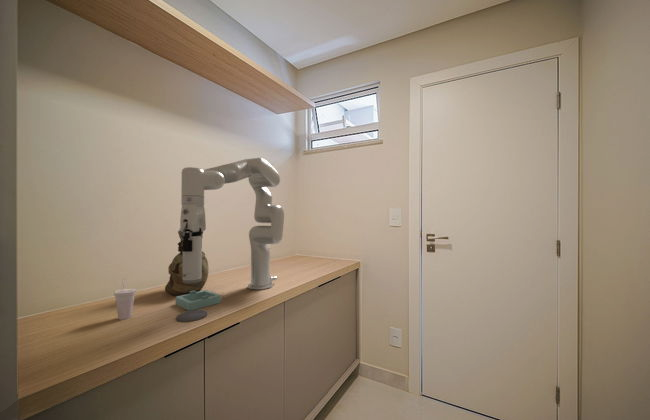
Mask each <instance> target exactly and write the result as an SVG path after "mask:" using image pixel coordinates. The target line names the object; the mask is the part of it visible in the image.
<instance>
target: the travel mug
mask: <svg viewBox="0 0 650 420" xmlns="http://www.w3.org/2000/svg"><path fill="white" fill-rule="evenodd" d="M186 231H190V230H186ZM201 233H202V231H201V228H199V231H198V232H193V234H192V238H191V240H192V251H191V252H183V283H186V284H190V283H197V282H200V281H201V280H202V251H203V237H202V236H203V234H201ZM188 235H189V234H188ZM201 237H202V238H201Z"/></svg>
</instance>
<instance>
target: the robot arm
mask: <svg viewBox="0 0 650 420" xmlns="http://www.w3.org/2000/svg"><path fill="white" fill-rule="evenodd" d="M247 178H248V179H247ZM245 179H247V180H248V182H249V185H250V186H251V188H252V189H253V191H254V193H255V204H254V205H255V206H254V214H253V215H254V216H253V217H254V221H255V222H256V223H259V224H271V225H254V226H253V227H251V228H250V230H249V232H248V240H249V245H250V283H248V285H247V289H249V290H257V291H258V290H266V289H267V290H268V289H270V288H272V287H273V286H274V283H273V281H277V280H278V277H277V276H270V275H271V265H270V264H271V262H270V261H271V255H270V254H271V252H270V249H269V247H268V245H278V244H280V243H281V242H282V240H283V236H284V234H283V232H284V223H285V210H284V209H283V207H282V206H281V205H278V204H273V195H272V193H271V191H270V190H269V189H268V188H275V187H277V186H278V185H280V181H281V177H280V174H279V172H278V171H277V169H275V167H274V166H273V165H271V164H270V163H269V162H268V161H267V160H266V159H264V158H262V157H254V158H245V159H241V160H237V161H233V162H230V163H227V164H226V163H225V164H221V165H218V166H214V167H209V168H205V169H202V168H199V167H190V166H189V167H184V168H182V170H181V191H180V192H181V201H180V203H181V204H180V205H181V209H180V223H179V224H180V225H179V230H178V231H179V232H180V233H181V236H182V240H183V252H191V251H192V240H191V238H192V234H193V232H198V231H199V228H201V231H202V233H201V234H202V237H201V238H202V239H203V234H204V232H205V231H206V228H207V227H206V223H207V222H206V212H205V211H206V209H205V191H212V190H213V191H214V190H215V191H216V190H219V189H221V188H223V186H224V185H225V184H231V183H232V184H233V183H237V182H239V181H242V180H245ZM186 230H190V231H186ZM188 234H189V235H188Z"/></svg>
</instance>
